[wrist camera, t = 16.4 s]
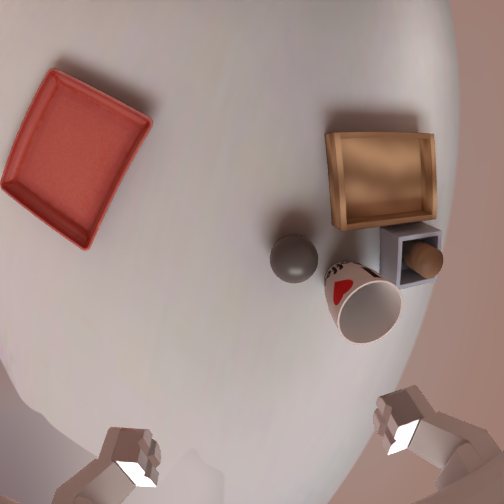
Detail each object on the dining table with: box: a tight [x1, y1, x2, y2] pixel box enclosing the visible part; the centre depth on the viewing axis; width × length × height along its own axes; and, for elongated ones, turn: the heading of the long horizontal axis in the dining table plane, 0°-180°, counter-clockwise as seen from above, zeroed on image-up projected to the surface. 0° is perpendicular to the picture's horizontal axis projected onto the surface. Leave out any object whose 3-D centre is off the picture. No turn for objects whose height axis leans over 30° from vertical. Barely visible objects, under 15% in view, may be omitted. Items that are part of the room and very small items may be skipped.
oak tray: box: [324, 132, 437, 231], centre depth 34 cm, size 11×14×4 cm
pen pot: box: [379, 222, 442, 290], centre depth 37 cm, size 7×7×5 cm
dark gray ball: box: [270, 235, 318, 283], centre depth 35 cm, size 6×6×6 cm
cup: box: [325, 261, 403, 345], centre depth 35 cm, size 8×8×10 cm
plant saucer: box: [0, 68, 153, 251], centre depth 31 cm, size 18×18×3 cm
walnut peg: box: [402, 239, 443, 279], centre depth 35 cm, size 4×4×6 cm
